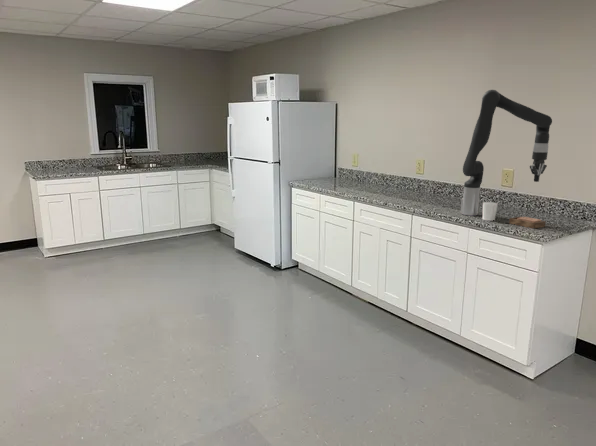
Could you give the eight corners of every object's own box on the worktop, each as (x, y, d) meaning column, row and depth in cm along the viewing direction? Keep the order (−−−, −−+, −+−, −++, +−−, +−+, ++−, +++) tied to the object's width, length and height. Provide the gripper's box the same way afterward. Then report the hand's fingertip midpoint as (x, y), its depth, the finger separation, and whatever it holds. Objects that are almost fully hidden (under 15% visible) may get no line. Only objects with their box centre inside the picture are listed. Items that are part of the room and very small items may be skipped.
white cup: (492, 218, 277) (493, 201, 275) (498, 221, 270) (499, 204, 268) (479, 218, 277) (480, 201, 275) (484, 221, 269) (486, 204, 267)
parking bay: (509, 223, 264) (509, 218, 263) (520, 221, 269) (520, 216, 268) (533, 228, 251) (534, 223, 251) (545, 226, 257) (545, 221, 256)
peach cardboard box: (516, 223, 263) (517, 217, 262) (524, 222, 266) (524, 216, 266) (533, 227, 254) (534, 221, 254) (540, 225, 258) (541, 219, 257)
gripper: (541, 150, 268) (537, 180, 272) (527, 151, 261) (523, 181, 266) (553, 151, 262) (549, 181, 266) (539, 152, 255) (535, 183, 259)
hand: (536, 181), depth 266 cm, fingers closed
